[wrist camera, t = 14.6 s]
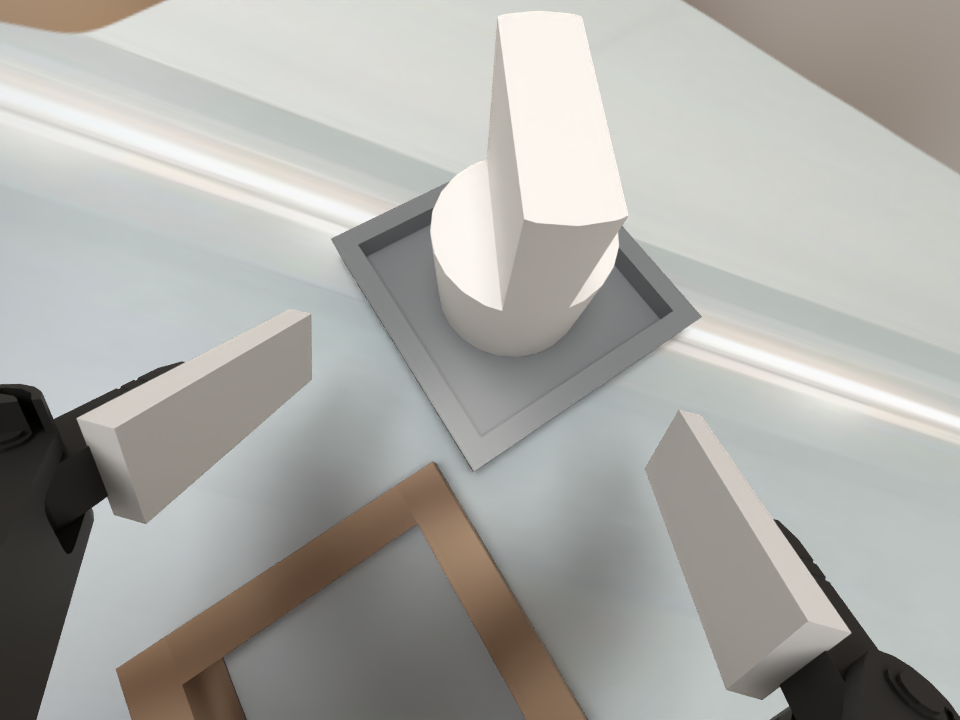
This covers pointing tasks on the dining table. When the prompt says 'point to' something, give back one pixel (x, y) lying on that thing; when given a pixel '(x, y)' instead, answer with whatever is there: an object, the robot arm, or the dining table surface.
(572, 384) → the charcoal tray
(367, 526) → the walnut collar
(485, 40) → the dining table surface
